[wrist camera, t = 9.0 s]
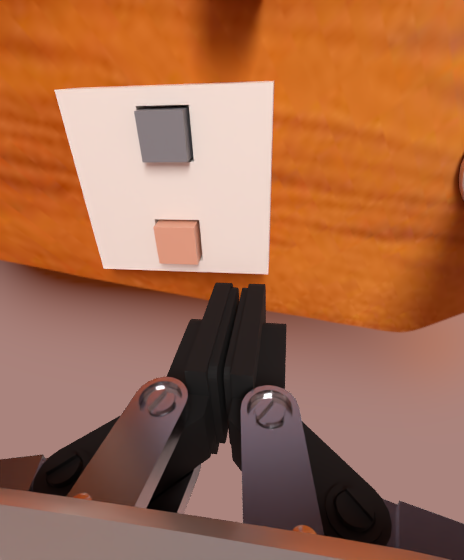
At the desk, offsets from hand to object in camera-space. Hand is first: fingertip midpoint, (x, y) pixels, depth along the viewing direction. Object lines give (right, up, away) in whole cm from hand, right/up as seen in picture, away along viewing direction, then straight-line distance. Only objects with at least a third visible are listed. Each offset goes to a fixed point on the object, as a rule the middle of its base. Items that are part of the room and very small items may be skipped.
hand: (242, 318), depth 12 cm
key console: (-6, +13, +26) cm, 30 cm away
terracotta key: (-6, +7, +27) cm, 29 cm away
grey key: (-6, +16, +21) cm, 27 cm away
